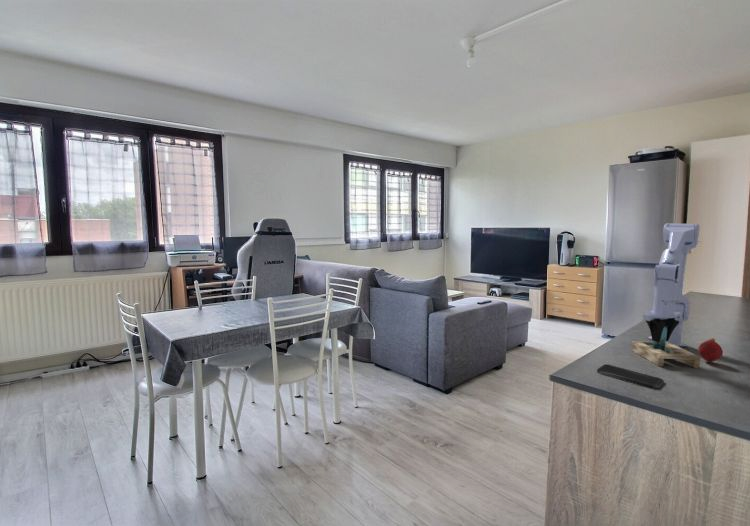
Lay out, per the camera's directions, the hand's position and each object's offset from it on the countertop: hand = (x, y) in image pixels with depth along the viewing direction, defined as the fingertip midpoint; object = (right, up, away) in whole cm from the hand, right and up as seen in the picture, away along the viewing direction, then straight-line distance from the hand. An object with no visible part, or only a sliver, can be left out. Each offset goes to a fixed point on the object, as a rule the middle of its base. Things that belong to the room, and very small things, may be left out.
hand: (660, 340), depth 128 cm
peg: (0, -5, +1) cm, 5 cm away
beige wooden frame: (0, -6, -2) cm, 6 cm away
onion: (+13, -6, -4) cm, 15 cm away
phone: (-21, -8, -17) cm, 29 cm away
